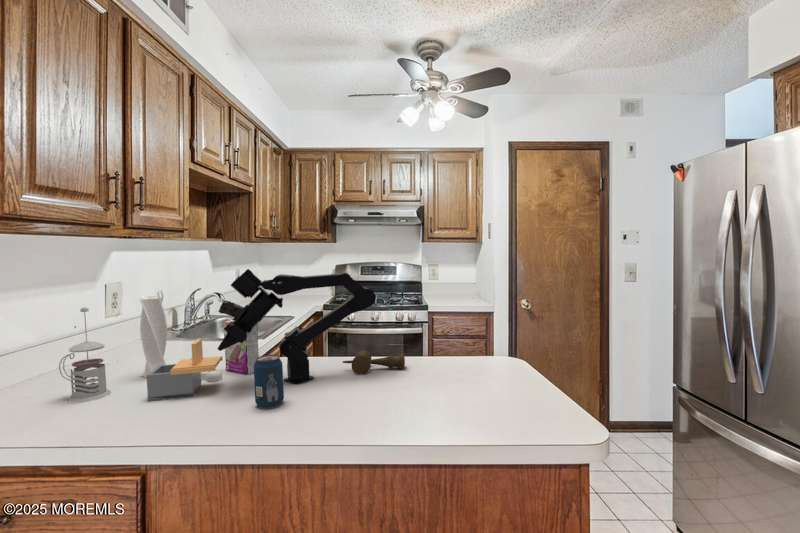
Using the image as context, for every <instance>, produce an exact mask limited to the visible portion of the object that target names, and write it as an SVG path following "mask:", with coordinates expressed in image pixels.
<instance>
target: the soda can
mask: <svg viewBox="0 0 800 533" xmlns="http://www.w3.org/2000/svg"><path fill="white" fill-rule="evenodd" d="M283 367H284V366H283V361H282V360H281V358H280V355H278V354H265V355H261V356H259V357H258V358H256V362H255V364H254V373H253V381H254V383H253V384H254V385H253V386H254V403H255V404H256V405H257V407H258V408H259V409H265V410H266V409H268V410H269V409H274V408H277V407H279V406H281V404H282V403H283V401H284V398H285V394H284V393H285V392H284V373H283V372H284V371H283V370H284V368H283Z"/></svg>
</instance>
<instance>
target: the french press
mask: <svg viewBox="0 0 800 533" xmlns="http://www.w3.org/2000/svg"><path fill="white" fill-rule="evenodd" d="M79 310H80V313H84V314H83V315H84V331H85V341H84V342H80V343H77V344H75V345H73V346H72V347H70V348H69V349H68V352H69V353H68V354H66V355H65V356H63V357H62V358H61V359H60V361H59V364H58V367H59V368H58V369H59V373H60V375H61V377H62V378H64V379H65V380H67V381H69V382H71V383H70V384H71V396H70V397H69V398H67V402H68V401H70V402H69V403H72V402H77V403H85V402H91V401H96V400H100V399H102V398H105V397H107V396H109V395H110V394H111V393H112V391H111V390H110V389H108V388H107V377H106V375H107V374H106V373H107V372H106V363H102V362H104V359H103V358H99V357H98V358H89V352H94V351H98V350H101V349H103V348H104V347H105V346H106V345H105V344H103V343H101V342H98V341H89V340H88V336H87V335H88V334H87V320H86V312H89V311H90V310H89V308H88V307H86V306H85V307H81V308H80V309H79ZM104 349H105V348H104ZM85 352H86V358H87V359H81V360H78V361H75V362H72V363H71V366H72V367H73V369H72V368H70V375H69V374H68V373H67V372H66V369H65V362H66V359H67V358H68V357H69V359H70V360H72V359H74V358H75V353H85ZM62 361H63V362H62ZM61 364H62V370H63V371H64V374H65V375H66V376H67V377H68V378H66V376H64V374H63V373H62V370H61ZM92 368H93V369H92ZM73 376H74V377H73ZM69 378H70V379H69ZM88 378H89V379H88ZM88 383H89V384H88Z"/></svg>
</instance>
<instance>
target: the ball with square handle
mask: <svg viewBox="0 0 800 533" xmlns="http://www.w3.org/2000/svg"><path fill="white" fill-rule="evenodd" d="M202 380H203V381H206V382H207V383H215V381H216V382H219V380H220V381H221V380H223V370H222V369H216V370H215V371H208V372H201V381H202Z"/></svg>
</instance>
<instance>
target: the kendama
mask: <svg viewBox="0 0 800 533" xmlns="http://www.w3.org/2000/svg"><path fill="white" fill-rule="evenodd" d="M342 363H343V364H351V370H352V371H353V373H355V374H356V375H366V374H367V373H369V372H370V370H371V366H372V365H376V366H382V367H383V366H384V367H388V368H389V369H392V368H398V369H401V370H404V369H405V367H406V366H405V365H406V364H405V363H406V360H405V354H404V353H401V354H399V355H392V354H389V355H388V356H385V357H381V358H373V359H372V355H371V354H370V352H369V351H368V350H359V351H357V352H356V354H355V356H354V358H353V359H352V360H343V361H342Z"/></svg>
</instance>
